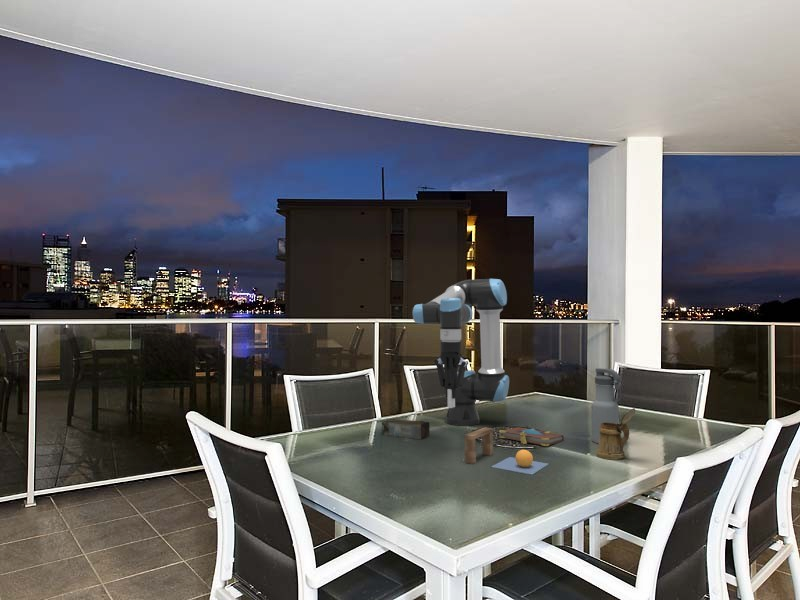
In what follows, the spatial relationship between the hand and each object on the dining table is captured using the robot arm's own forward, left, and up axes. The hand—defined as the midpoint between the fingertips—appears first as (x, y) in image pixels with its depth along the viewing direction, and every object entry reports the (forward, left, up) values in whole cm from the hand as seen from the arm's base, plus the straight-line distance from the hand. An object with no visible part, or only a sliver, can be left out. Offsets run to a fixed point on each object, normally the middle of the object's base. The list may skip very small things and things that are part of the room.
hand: (451, 407), depth 191 cm
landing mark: (0, +26, -16) cm, 31 cm away
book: (-36, +13, -17) cm, 42 cm away
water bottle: (-48, +40, -17) cm, 65 cm away
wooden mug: (-28, +49, -17) cm, 59 cm away
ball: (0, +28, -14) cm, 31 cm away
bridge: (0, +11, -16) cm, 20 cm away
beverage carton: (-13, -30, -17) cm, 37 cm away
